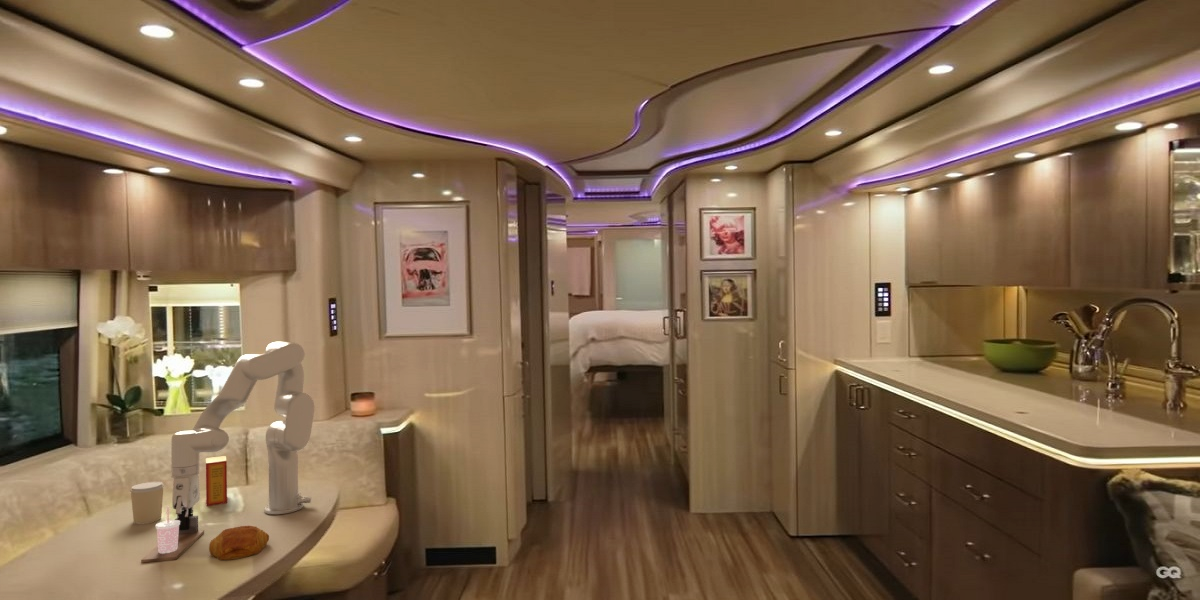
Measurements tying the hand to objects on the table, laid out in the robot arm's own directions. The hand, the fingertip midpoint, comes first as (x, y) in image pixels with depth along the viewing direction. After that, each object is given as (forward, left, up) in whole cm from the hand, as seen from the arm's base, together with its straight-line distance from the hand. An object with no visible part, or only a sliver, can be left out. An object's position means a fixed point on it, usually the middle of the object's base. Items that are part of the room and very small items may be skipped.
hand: (185, 527), depth 206 cm
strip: (0, +10, -3) cm, 10 cm away
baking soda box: (+3, -37, -3) cm, 37 cm away
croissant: (-21, +19, -3) cm, 28 cm away
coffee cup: (+19, -20, -3) cm, 28 cm away
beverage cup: (-1, +15, -3) cm, 15 cm away
